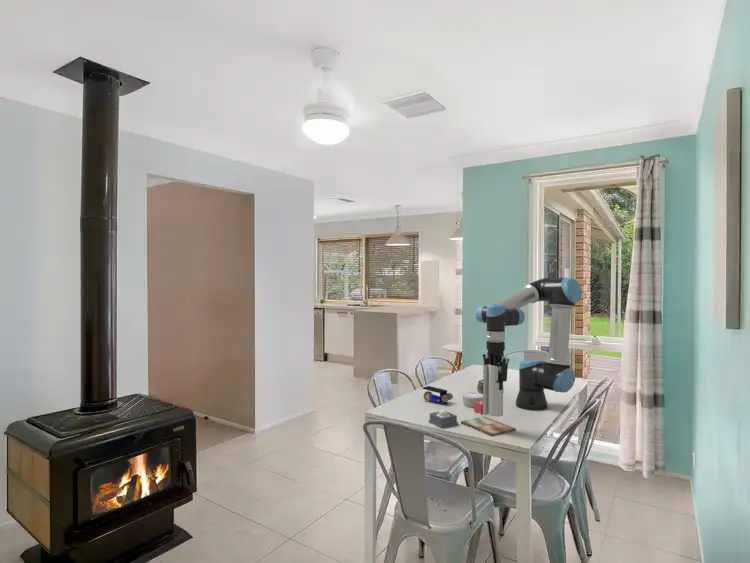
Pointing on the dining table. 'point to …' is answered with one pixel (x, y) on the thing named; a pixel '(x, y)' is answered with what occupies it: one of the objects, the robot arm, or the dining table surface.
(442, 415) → the pop dome
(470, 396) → the ramekin
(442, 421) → the button base
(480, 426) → the game board
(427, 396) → the figurine character
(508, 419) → the dining table surface
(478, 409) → the red die
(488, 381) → the paper towel roll
